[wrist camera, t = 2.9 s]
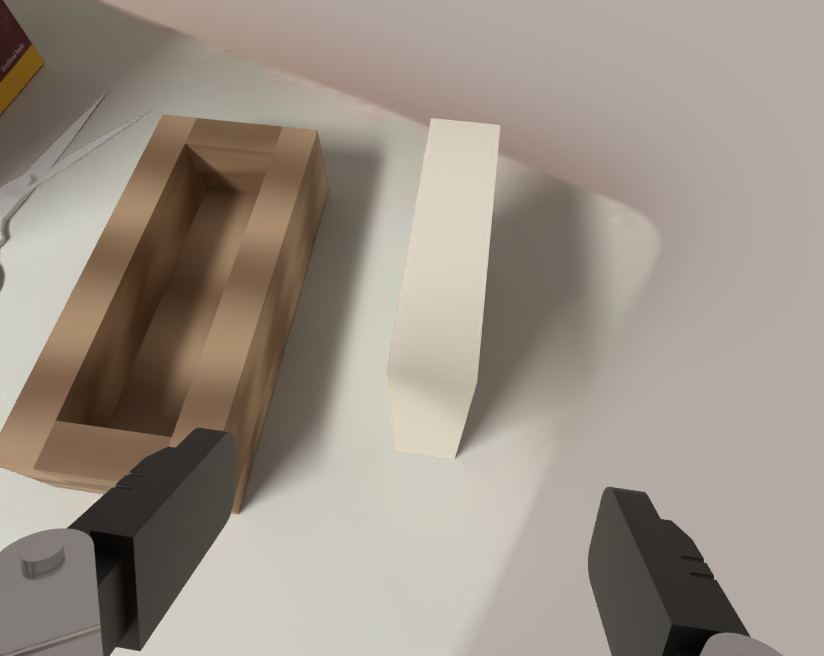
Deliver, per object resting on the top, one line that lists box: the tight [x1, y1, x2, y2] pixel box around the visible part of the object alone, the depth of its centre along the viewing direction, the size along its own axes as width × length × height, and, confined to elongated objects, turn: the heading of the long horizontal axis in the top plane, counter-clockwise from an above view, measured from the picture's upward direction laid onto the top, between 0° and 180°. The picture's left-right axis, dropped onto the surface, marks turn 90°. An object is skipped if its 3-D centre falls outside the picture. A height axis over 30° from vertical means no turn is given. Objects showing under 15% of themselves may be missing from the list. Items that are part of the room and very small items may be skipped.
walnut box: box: [0, 115, 329, 514], centre depth 28 cm, size 20×9×5 cm, turn 172°
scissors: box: [0, 93, 152, 247], centre depth 34 cm, size 11×1×20 cm
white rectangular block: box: [387, 118, 500, 459], centre depth 25 cm, size 12×3×10 cm, turn 172°
